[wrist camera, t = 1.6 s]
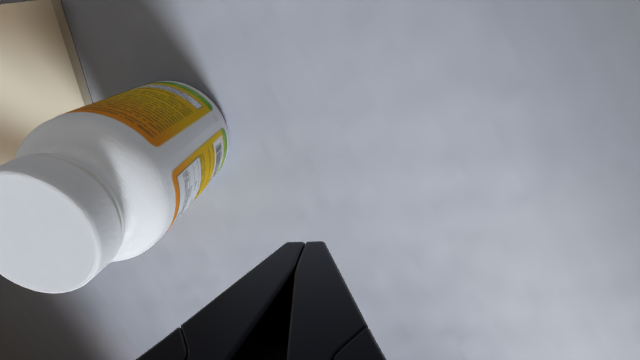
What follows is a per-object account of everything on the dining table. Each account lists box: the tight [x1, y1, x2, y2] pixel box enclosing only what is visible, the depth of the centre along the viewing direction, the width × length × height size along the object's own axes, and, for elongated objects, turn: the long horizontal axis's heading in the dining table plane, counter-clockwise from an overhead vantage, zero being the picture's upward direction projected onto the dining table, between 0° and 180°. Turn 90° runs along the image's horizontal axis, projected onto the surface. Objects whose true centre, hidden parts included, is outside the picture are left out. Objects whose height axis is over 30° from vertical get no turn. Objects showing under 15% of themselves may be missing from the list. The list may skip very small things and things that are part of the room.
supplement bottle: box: [0, 81, 229, 293], centre depth 15 cm, size 5×5×10 cm
